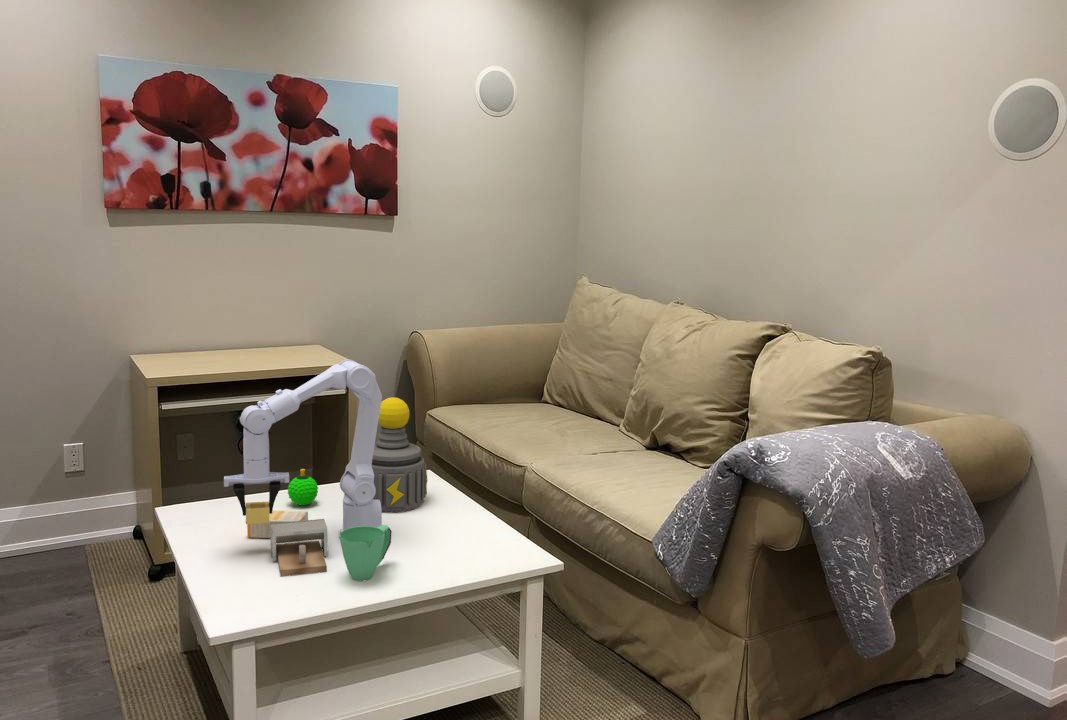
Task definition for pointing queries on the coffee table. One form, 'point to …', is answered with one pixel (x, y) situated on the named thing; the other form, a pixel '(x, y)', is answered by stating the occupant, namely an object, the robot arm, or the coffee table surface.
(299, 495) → the ornament
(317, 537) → the cover
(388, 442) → the decorative lamp
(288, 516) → the supplement box
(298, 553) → the pin board
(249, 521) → the hollow square block
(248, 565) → the coffee table surface
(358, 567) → the mug
